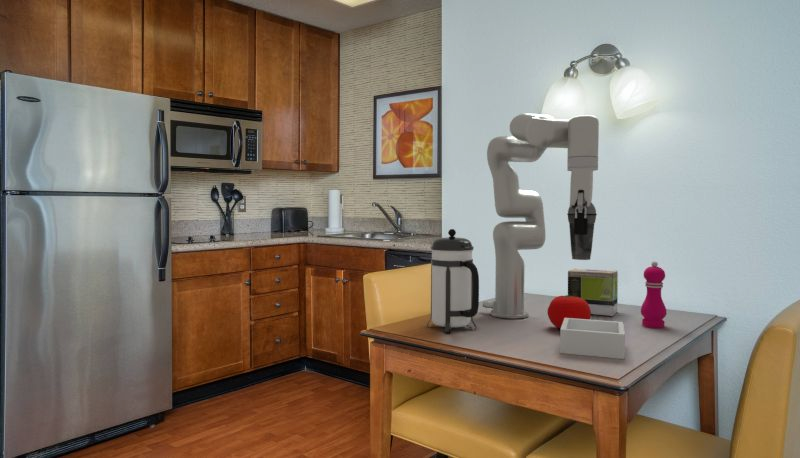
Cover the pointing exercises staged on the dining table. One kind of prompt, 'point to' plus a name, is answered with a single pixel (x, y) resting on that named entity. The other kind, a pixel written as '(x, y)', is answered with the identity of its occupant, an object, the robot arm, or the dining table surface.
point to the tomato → (567, 309)
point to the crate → (592, 338)
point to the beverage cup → (582, 243)
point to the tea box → (595, 289)
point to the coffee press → (453, 283)
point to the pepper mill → (653, 298)
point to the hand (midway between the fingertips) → (581, 233)
